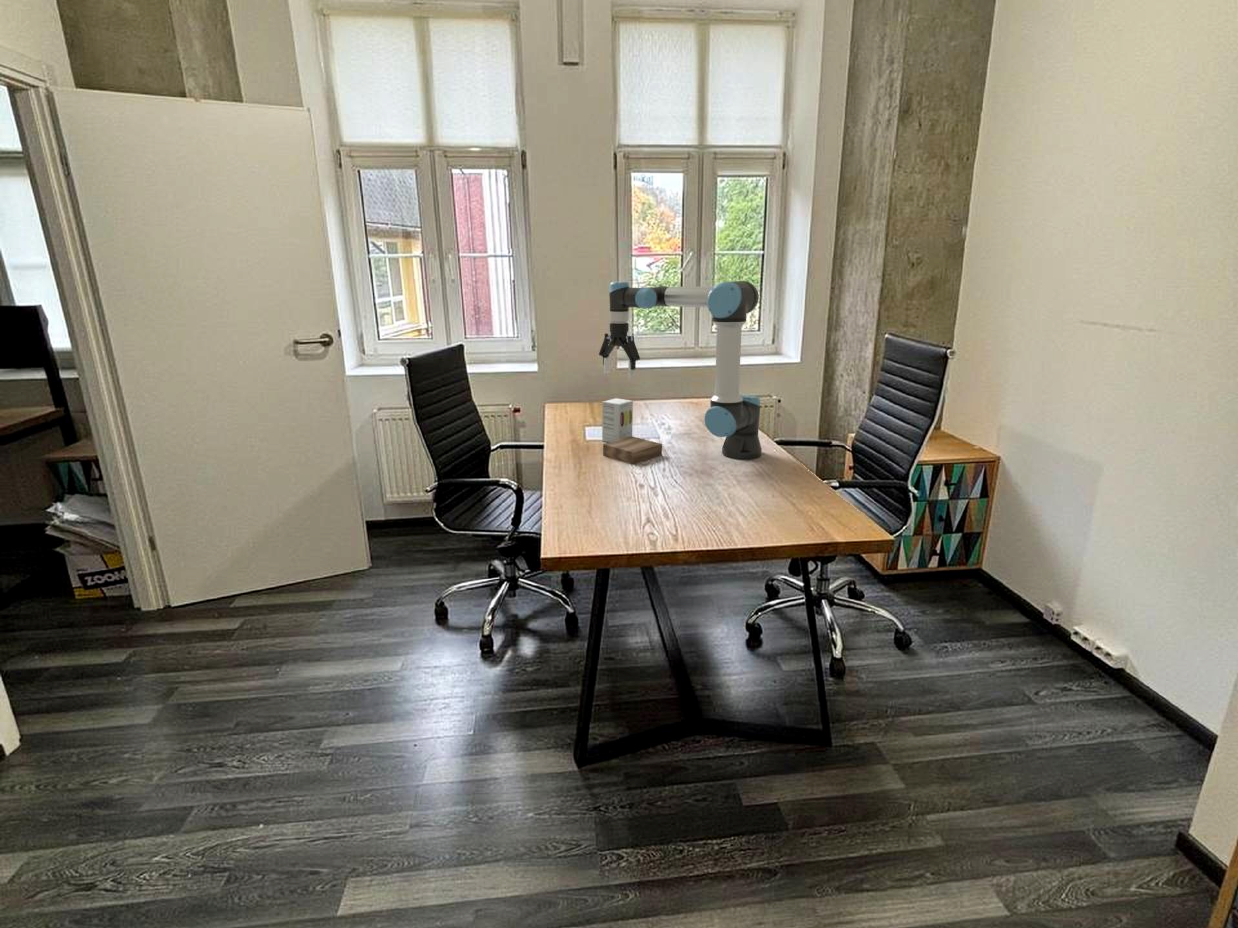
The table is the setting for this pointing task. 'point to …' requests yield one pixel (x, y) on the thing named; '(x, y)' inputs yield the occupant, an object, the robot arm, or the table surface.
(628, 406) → the supplement box
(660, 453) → the walnut block
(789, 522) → the table surface
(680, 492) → the table surface
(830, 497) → the table surface
